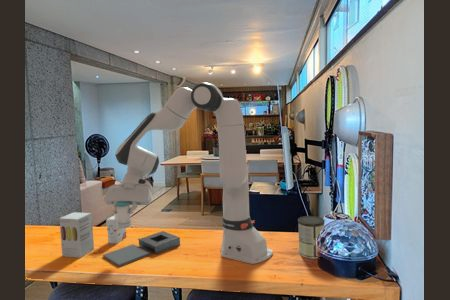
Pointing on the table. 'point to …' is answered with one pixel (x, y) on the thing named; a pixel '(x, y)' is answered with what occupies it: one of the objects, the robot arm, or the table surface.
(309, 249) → the coffee can
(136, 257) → the rubber mat
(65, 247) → the supplement box
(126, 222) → the teal-capped white cylinder
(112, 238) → the ink cartridge box
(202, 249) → the table surface
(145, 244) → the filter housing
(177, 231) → the table surface
